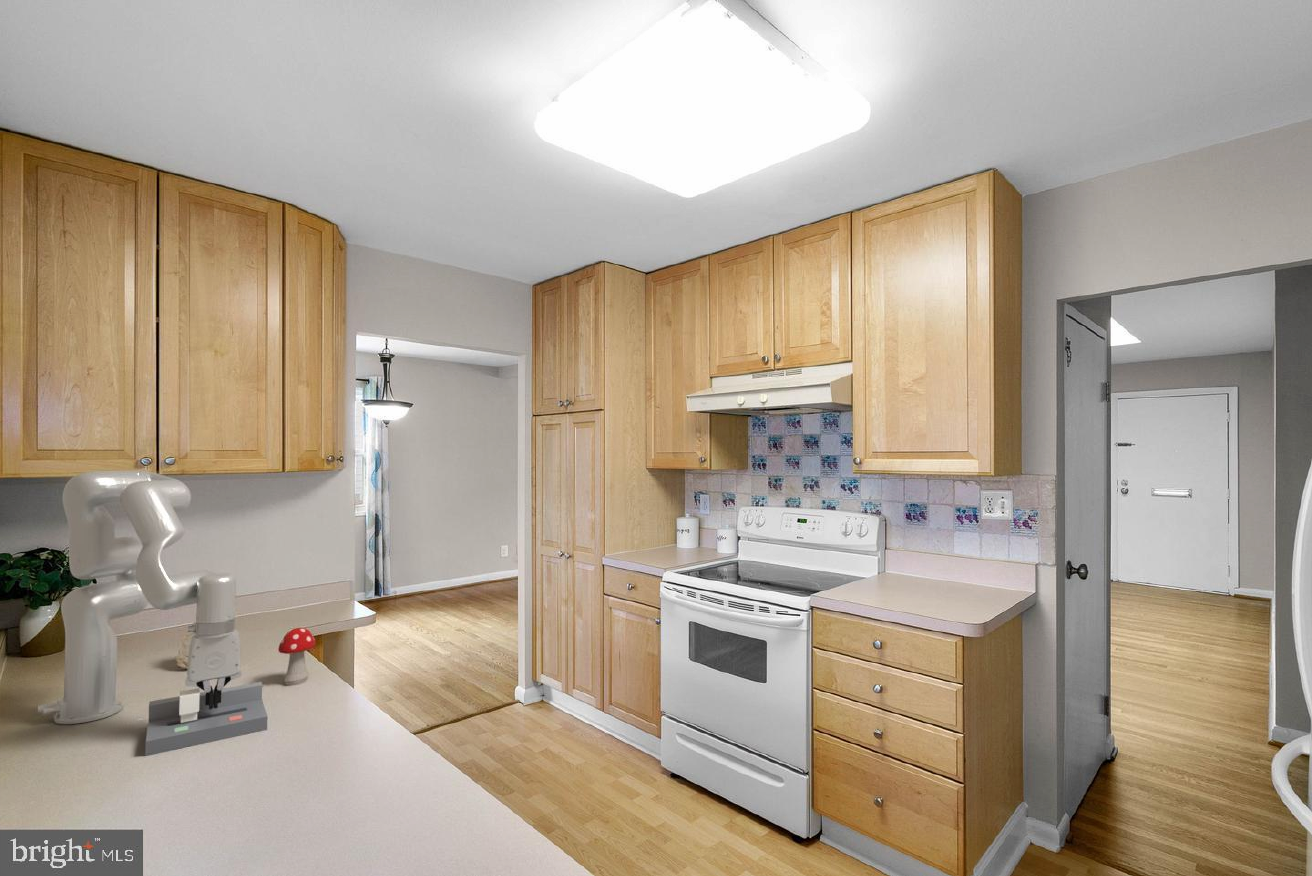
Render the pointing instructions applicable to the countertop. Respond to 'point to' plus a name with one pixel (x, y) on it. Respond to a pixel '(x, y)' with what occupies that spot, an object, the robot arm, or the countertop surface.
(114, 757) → the countertop surface
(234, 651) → the robot arm
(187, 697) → the knob
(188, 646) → the rock
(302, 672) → the decorative mushroom
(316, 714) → the countertop surface
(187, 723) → the panel
